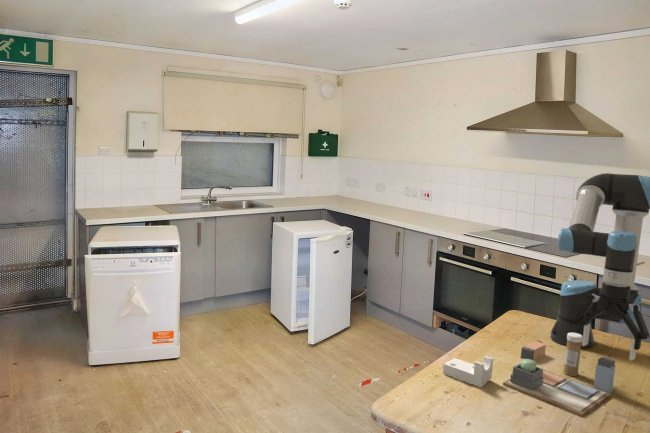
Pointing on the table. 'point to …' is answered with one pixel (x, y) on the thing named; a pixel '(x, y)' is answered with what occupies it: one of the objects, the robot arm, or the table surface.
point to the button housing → (527, 378)
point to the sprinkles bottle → (572, 354)
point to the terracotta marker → (533, 350)
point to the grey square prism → (604, 374)
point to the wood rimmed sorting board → (564, 393)
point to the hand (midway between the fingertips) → (607, 352)
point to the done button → (528, 365)
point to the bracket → (470, 371)
